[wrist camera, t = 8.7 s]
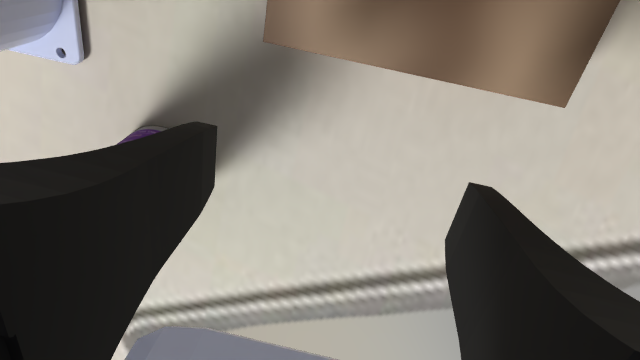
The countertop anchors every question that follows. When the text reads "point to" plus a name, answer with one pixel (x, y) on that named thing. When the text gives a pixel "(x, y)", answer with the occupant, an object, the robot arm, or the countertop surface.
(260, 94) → the countertop surface
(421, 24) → the walnut box
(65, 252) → the robot arm
